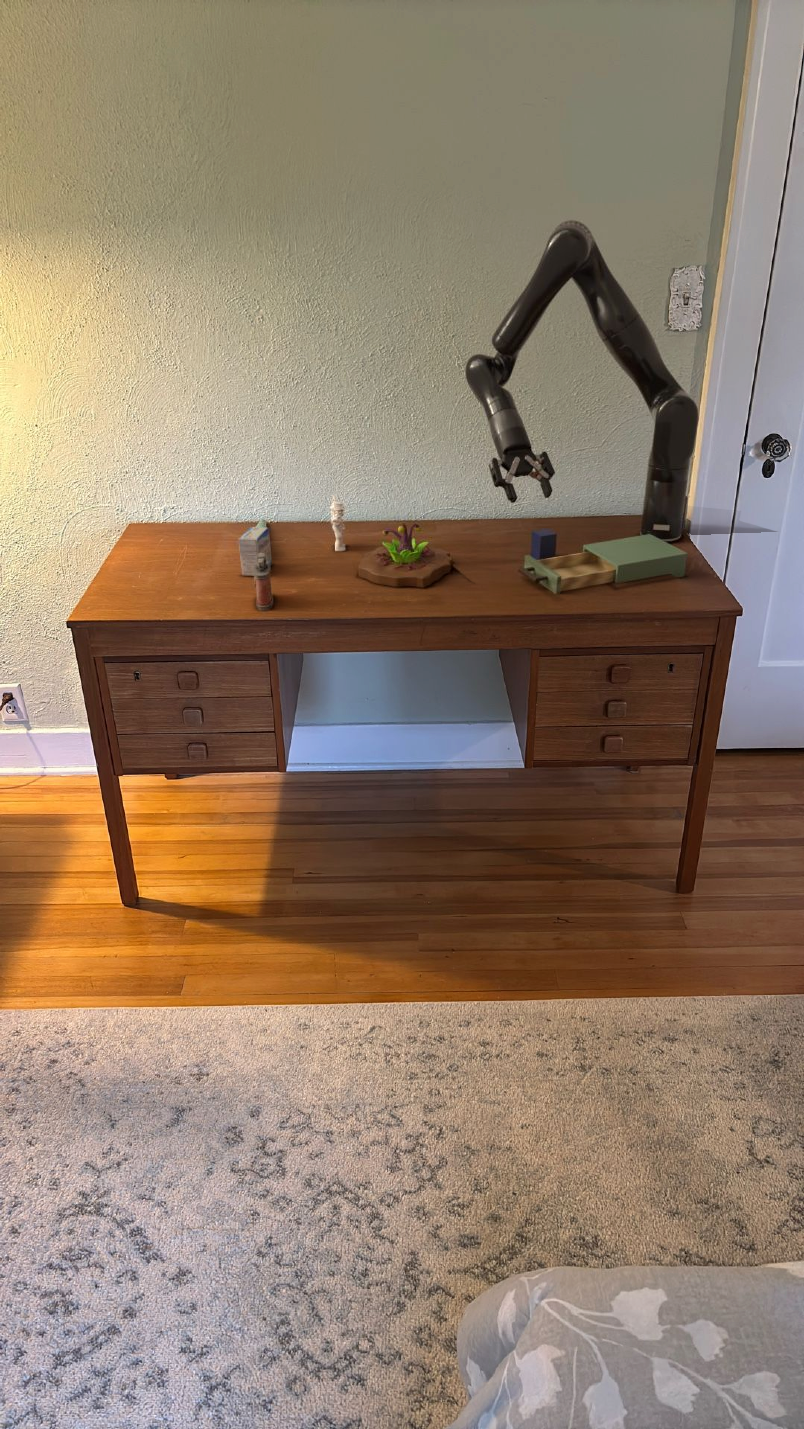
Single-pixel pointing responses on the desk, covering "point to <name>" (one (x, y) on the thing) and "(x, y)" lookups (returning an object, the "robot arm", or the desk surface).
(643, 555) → the box
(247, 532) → the medicine box
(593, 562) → the tray
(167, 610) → the desk surface
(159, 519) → the desk surface
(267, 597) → the lighter
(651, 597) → the desk surface
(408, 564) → the plant
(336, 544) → the hat wearing toy figure
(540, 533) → the tea box
